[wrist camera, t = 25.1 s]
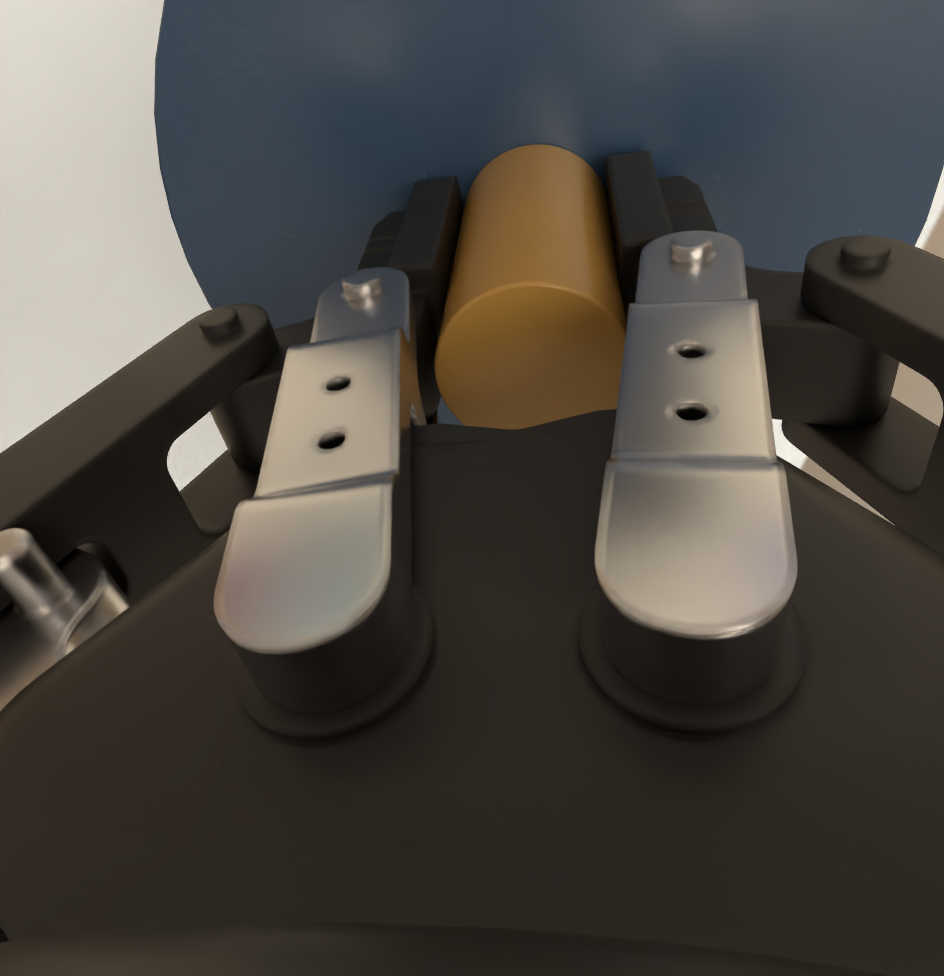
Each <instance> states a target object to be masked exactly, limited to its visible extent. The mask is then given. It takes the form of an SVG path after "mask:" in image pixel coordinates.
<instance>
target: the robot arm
mask: <svg viewBox="0 0 944 976" xmlns="http://www.w3.org/2000/svg"><path fill="white" fill-rule="evenodd" d="M606 183H607V200H608V206H609V212H610V219H611V225H612V232H613V238H614V244H615V251H616V257H617V263H618V270H619V276H620V283H621V289H622V295H623V301H624V305H625V311H626V317H627V329H626V337H625V345H624V354H623V362H622V370H621V379H620V387H619V395H618V403H617V409H610V410H598V411H593V412H589V413H585V414H581V415H577V416H573V417H569V418H564V419H560V420H556V421H552V422H548V423H544V424H540V425H536V426H532V427H527V428H523V429H500V428H488V427H477V426H465V425H453V424H442V423H441V421H440V416H439V412H438V406H439V403H440V398H442V396H441V394H440V392H439V389H438V386H437V382H436V377H435V371H434V359H435V353H436V347H437V342H438V337H439V332H440V327H441V322H442V317H443V312H444V307H445V302H446V297H447V292H448V287H449V282H450V277H451V271H452V266H453V261H454V256H455V251H456V246H457V241H458V236H459V231H460V226H461V221H462V216H463V211H464V209H463V203H462V197H461V191H460V186H459V183H458V179H457V177H456V176H452V177H444V178H437V179H429V180H422V181H416V182H415V184H414V187H413V190H412V193H411V196H410V199H409V201H408V204H407V207H406V210H405V211H397V212H390V213H389V214H388V215H387V216H386V217H384V218H383V219H382V220H381V221H380V222H378V223H377V224H376V225H375V226H374V228H373V231H372V233H371V236H370V238H369V242H368V243H367V246H366V248H365V253H363V256H362V258H361V261H360V263H359V266H358V268H357V271H354V272H350V273H348V274H345V275H343V276H341V277H339V278H337V279H335V280H333V281H331V282H330V283H329V284H327V285H326V286H325V287H324V288H323V289H322V291H321V292H320V294H319V297H318V303H317V308H316V314H315V317H314V318H312V319H309V320H306V321H302V322H299V323H295V324H292V325H288V326H284V327H281V328H277V329H274V330H273V327H272V325H271V322H270V319H269V317H268V314H267V312H266V310H265V309H264V308H263V307H261V306H259V305H255V304H248V303H240V304H231V305H226V306H222V307H218V308H215V309H212V310H209V311H207V312H205V313H202V314H200V315H198V316H197V317H195V318H193V319H192V320H190V321H189V322H187V323H186V324H184V325H183V326H181V327H180V328H179V329H177V330H176V331H174V332H173V333H171V334H170V335H169V336H167V337H166V338H164V339H163V340H161V341H160V342H159V343H157V344H156V345H154V346H153V347H152V348H150V349H149V350H147V351H146V352H144V353H143V354H142V355H140V356H139V357H137V358H136V359H134V360H133V361H132V362H130V363H129V364H127V365H126V366H124V367H123V368H122V369H120V370H119V371H117V372H116V373H114V374H113V375H112V376H110V377H109V378H107V379H106V380H104V381H103V382H102V383H100V384H99V385H97V386H96V387H94V388H93V389H92V390H90V391H89V392H87V393H86V394H85V395H83V396H82V397H80V398H79V399H77V400H76V401H75V402H73V403H72V404H70V405H69V406H67V407H66V408H65V409H63V410H62V411H60V412H59V413H57V414H56V415H55V416H53V417H52V418H50V419H49V420H47V421H46V422H45V423H43V424H42V425H40V426H39V427H37V428H36V429H35V430H33V431H32V432H30V433H29V434H27V435H26V436H25V437H23V438H22V439H20V440H19V441H17V442H16V443H15V444H13V445H12V446H10V447H9V448H8V449H6V450H5V451H3V452H2V453H0V976H944V410H943V418H942V420H941V424H940V427H939V426H937V425H935V424H934V423H932V422H931V421H929V420H927V419H926V418H924V417H923V416H921V415H920V414H918V413H916V412H915V411H913V410H911V409H910V408H908V407H907V406H905V405H903V404H902V403H901V402H899V401H897V400H896V399H894V398H893V397H891V393H892V389H893V386H894V382H895V378H896V374H897V369H898V366H899V362H901V363H903V364H904V365H906V366H908V367H910V368H911V369H913V370H915V371H916V372H918V373H920V374H922V375H923V376H925V377H926V378H928V379H929V380H930V381H931V382H932V383H933V384H934V385H935V386H936V388H937V389H938V391H939V393H940V395H941V398H942V401H943V408H944V259H943V258H941V257H938V256H935V255H934V254H931V253H929V252H927V251H924V250H922V249H920V248H917V247H915V246H913V245H910V244H908V243H905V242H903V241H900V240H896V239H892V238H887V237H881V236H865V235H860V236H846V237H840V238H835V239H831V240H828V241H825V242H822V243H820V244H818V245H816V246H815V247H813V248H812V249H811V250H810V251H809V252H808V254H807V255H806V260H805V267H804V272H788V271H772V270H764V269H758V268H754V267H750V266H747V265H745V264H744V255H743V248H742V245H741V244H740V242H739V241H737V240H736V239H735V238H733V237H731V236H728V235H725V234H722V233H718V231H717V228H716V226H715V223H714V221H713V218H712V216H711V213H710V212H709V208H708V206H707V204H706V201H704V196H703V194H702V191H701V189H700V186H699V185H698V184H696V183H694V182H693V181H691V180H689V179H687V178H686V177H684V176H682V175H680V176H672V177H664V178H657V175H656V171H655V168H654V164H653V161H652V158H651V154H650V151H649V150H647V151H640V152H632V153H625V154H617V155H610V156H606ZM209 411H210V412H211V414H212V416H213V419H214V421H215V423H216V425H217V427H218V429H219V431H220V433H221V435H222V438H223V440H224V442H225V444H226V446H227V448H228V449H227V450H226V451H225V452H224V453H223V454H222V455H221V456H220V457H218V458H217V459H216V460H215V461H214V462H213V463H212V464H210V465H209V466H208V467H207V468H206V469H205V470H204V471H202V472H201V473H200V474H199V475H198V476H197V477H196V478H195V479H193V480H192V481H191V482H190V483H189V484H188V485H187V486H185V487H184V488H183V489H182V490H181V491H180V492H179V490H178V489H177V487H176V485H175V483H174V481H173V480H172V478H171V476H170V474H169V472H168V468H167V456H168V452H169V449H170V447H171V445H172V444H173V442H174V441H175V440H176V439H177V438H178V437H179V436H180V435H181V434H183V433H184V432H185V431H186V430H188V429H189V428H190V427H191V426H192V425H194V424H195V423H196V422H197V421H199V420H200V419H201V418H202V417H203V416H205V415H206V414H207V413H208V412H209ZM772 419H780V420H782V431H783V434H784V436H785V437H786V438H787V440H788V441H789V442H790V443H792V444H793V445H794V446H795V447H797V448H798V449H799V450H800V451H802V452H803V453H804V454H805V455H807V456H808V457H809V458H810V459H812V460H813V461H814V462H816V463H817V464H818V465H819V466H821V467H822V468H823V469H825V470H826V471H827V472H828V473H830V474H831V475H832V476H834V477H835V478H836V479H837V480H838V481H840V482H841V483H842V484H843V485H845V486H846V487H847V488H849V489H850V490H851V491H852V492H854V493H855V494H856V495H857V496H859V497H860V498H861V499H862V500H864V501H865V502H867V503H868V504H869V505H870V506H871V507H873V508H874V509H875V510H876V511H878V512H879V513H880V514H882V515H883V516H884V517H885V518H887V519H888V520H889V521H890V522H892V523H893V524H894V525H893V524H891V523H890V522H888V521H886V520H884V519H883V518H881V517H879V516H878V515H876V514H874V513H873V512H871V511H869V510H868V509H866V508H864V507H862V506H861V505H859V504H858V503H856V502H854V501H852V500H851V499H849V498H848V497H846V496H844V495H842V494H841V493H839V492H837V491H836V490H834V489H832V488H831V487H829V486H827V485H826V484H824V483H822V482H821V481H819V480H817V479H816V478H814V477H812V476H810V475H809V474H807V473H805V472H804V471H802V470H800V469H799V468H797V467H795V466H794V465H792V464H790V463H789V462H787V461H785V460H784V459H782V458H780V457H779V456H777V455H776V450H775V442H774V433H773V425H772ZM896 526H897V527H896Z"/></svg>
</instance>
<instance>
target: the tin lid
mask: <svg viewBox="0 0 944 976" xmlns="http://www.w3.org/2000/svg"><path fill="white" fill-rule="evenodd" d="M154 117H155V126H156V136H157V145H158V154H159V164H160V170H161V175H162V179H163V183H164V187H165V192H166V196H167V200H168V205H169V209H170V213H171V217H172V220H173V223H174V225H175V228H176V231H177V234H178V236H179V239H180V242H181V245H182V248H183V250H184V253H185V256H186V259H187V261H188V263H189V265H190V267H191V269H192V271H193V273H194V275H195V277H196V279H197V281H198V283H199V285H200V287H201V289H202V291H203V293H204V295H205V297H206V299H207V301H208V303H209V305H210V306H211V308H212V309H215V308H218V307H222V306H226V305H231V304H240V303H248V304H255V305H259V306H261V307H263V308H264V309H265V310H266V312H267V314H268V317H269V319H270V322H271V325H272V327H273V330H274V329H277V328H281V327H284V326H288V325H292V324H295V323H299V322H302V321H306V320H309V319H312V318H314V317H315V314H316V308H317V303H318V297H319V294H320V292H321V291H322V289H323V288H324V287H325V286H326V285H327V284H329V283H330V282H331V281H333V280H335V279H337V278H339V277H341V276H343V275H345V274H348V273H350V272H354V271H357V268H358V266H359V263H360V261H361V258H362V256H363V253H365V248H366V246H367V243H368V242H369V238H370V236H371V233H372V231H373V228H374V226H375V225H376V224H377V223H378V222H380V221H381V220H382V219H383V218H384V217H386V216H387V215H388V214H389V213H390V212H397V211H405V210H406V207H407V204H408V201H409V199H410V196H411V193H412V190H413V187H414V184H415V182H416V181H422V180H429V179H437V178H444V177H452V176H456V177H457V179H458V183H459V186H460V191H461V197H462V203H463V209H464V211H463V216H462V221H461V226H460V231H459V236H458V241H457V246H456V251H455V256H454V261H453V266H452V271H451V277H450V282H449V287H448V292H447V297H446V302H445V307H444V312H443V317H442V322H441V327H440V332H439V337H438V342H437V347H436V353H435V359H434V371H435V377H436V382H437V386H438V389H439V392H440V394H441V396H442V398H440V403H439V406H438V412H439V416H440V421H441V423H442V424H453V425H465V426H477V427H488V428H500V429H523V428H527V427H532V426H536V425H540V424H544V423H548V422H552V421H556V420H560V419H564V418H569V417H573V416H577V415H581V414H585V413H589V412H593V411H598V410H610V409H617V403H618V395H619V387H620V379H621V370H622V362H623V354H624V345H625V337H626V329H627V317H626V311H625V305H624V301H623V295H622V289H621V283H620V276H619V270H618V263H617V257H616V251H615V244H614V238H613V232H612V225H611V219H610V212H609V206H608V200H607V183H606V156H610V155H617V154H625V153H632V152H640V151H647V150H649V151H650V154H651V158H652V161H653V164H654V168H655V171H656V175H657V178H664V177H672V176H680V175H682V176H684V177H686V178H687V179H689V180H691V181H693V182H694V183H696V184H698V185H699V186H700V189H701V191H702V194H703V196H704V201H706V204H707V206H708V208H709V212H710V213H711V216H712V218H713V221H714V223H715V226H716V228H717V231H718V233H722V234H725V235H728V236H731V237H733V238H735V239H736V240H737V241H739V242H740V244H741V245H742V248H743V255H744V264H745V265H747V266H750V267H754V268H758V269H764V270H772V271H788V272H804V267H805V260H806V255H807V254H808V252H809V251H810V250H811V249H812V248H813V247H815V246H816V245H818V244H820V243H822V242H825V241H828V240H831V239H835V238H840V237H846V236H860V235H865V236H881V237H887V238H892V239H896V240H900V241H903V242H905V243H908V244H910V245H913V246H915V244H916V242H917V240H918V238H919V236H920V233H921V231H922V229H923V227H924V225H925V222H926V220H927V217H928V214H929V211H930V208H931V204H932V201H933V198H934V195H935V192H936V189H937V186H938V182H939V179H940V176H941V173H942V170H943V166H944V0H164V5H163V12H162V18H161V25H160V32H159V38H158V45H157V51H156V58H155V101H154Z"/></svg>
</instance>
